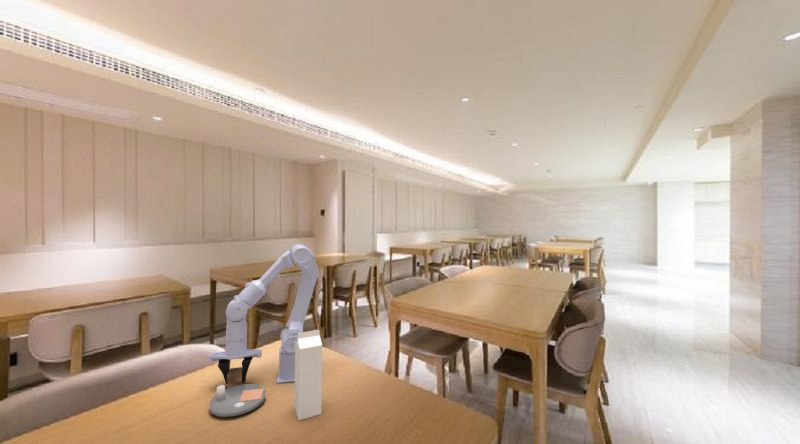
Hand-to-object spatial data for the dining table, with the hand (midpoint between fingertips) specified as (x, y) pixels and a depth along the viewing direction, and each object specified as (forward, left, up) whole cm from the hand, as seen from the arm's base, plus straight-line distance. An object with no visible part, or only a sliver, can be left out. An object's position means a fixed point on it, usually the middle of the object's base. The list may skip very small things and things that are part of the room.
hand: (235, 381), depth 97 cm
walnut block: (0, 0, -1) cm, 1 cm away
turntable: (-3, +11, -1) cm, 11 cm away
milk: (-22, +19, -2) cm, 29 cm away
